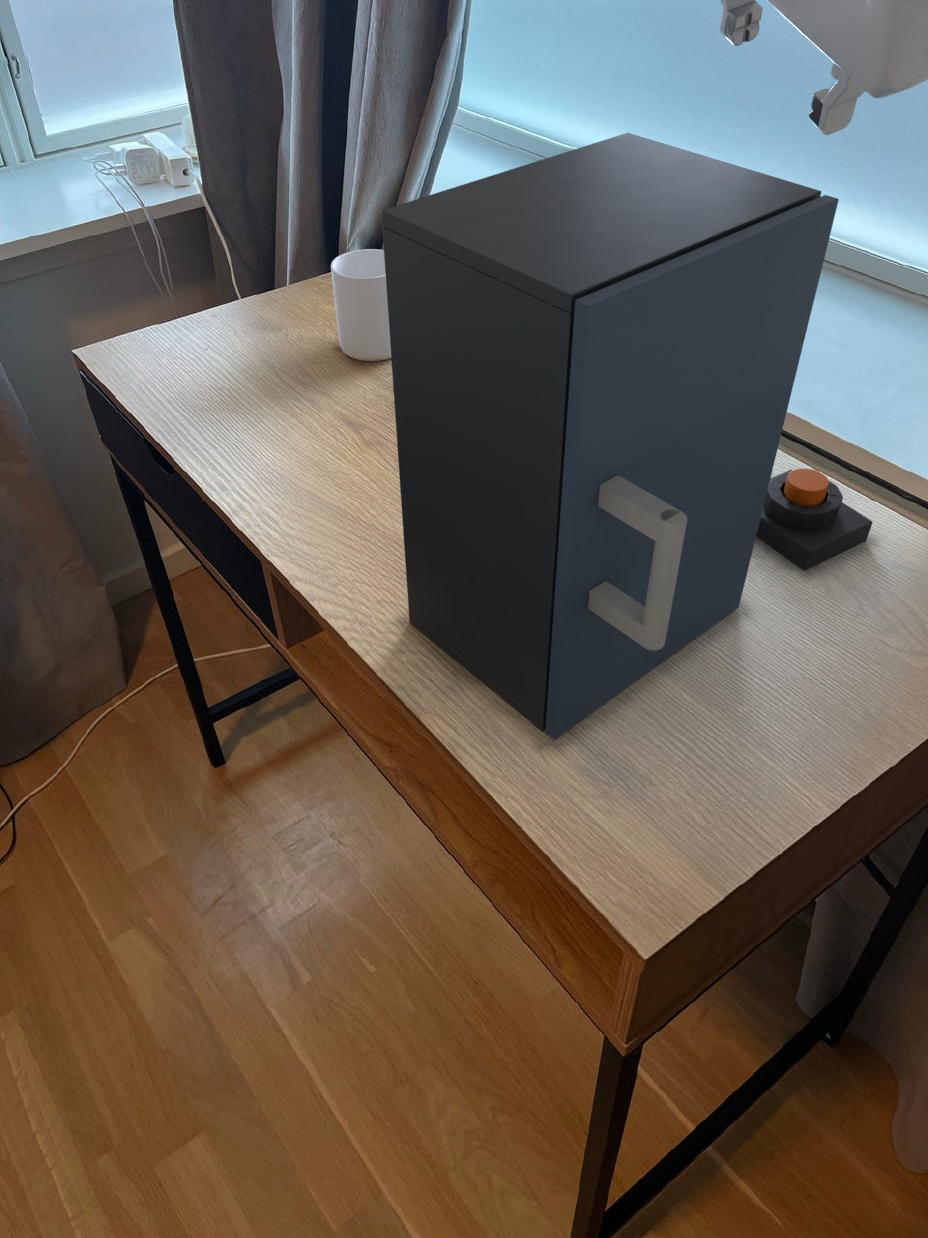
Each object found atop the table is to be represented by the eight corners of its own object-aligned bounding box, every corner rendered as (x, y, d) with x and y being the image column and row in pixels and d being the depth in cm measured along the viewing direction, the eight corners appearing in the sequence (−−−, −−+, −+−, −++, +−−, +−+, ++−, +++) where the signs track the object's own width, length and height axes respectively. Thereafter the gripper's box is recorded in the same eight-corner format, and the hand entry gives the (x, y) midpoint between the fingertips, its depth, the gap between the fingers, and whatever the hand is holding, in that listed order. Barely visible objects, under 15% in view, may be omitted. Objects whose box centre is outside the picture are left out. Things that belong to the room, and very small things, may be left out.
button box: (866, 540, 88) (878, 505, 86) (804, 571, 85) (815, 535, 83) (786, 487, 95) (795, 452, 92) (725, 514, 92) (733, 479, 89)
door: (796, 643, 79) (927, 225, 56) (612, 788, 68) (679, 346, 45) (729, 601, 82) (825, 194, 59) (544, 732, 72) (574, 299, 49)
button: (832, 498, 87) (837, 482, 86) (804, 511, 86) (808, 495, 85) (803, 479, 89) (807, 463, 88) (774, 491, 88) (778, 476, 87)
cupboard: (726, 601, 83) (822, 190, 59) (542, 732, 72) (571, 295, 49) (590, 517, 92) (627, 131, 68) (409, 622, 81) (380, 209, 58)
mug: (313, 331, 120) (303, 248, 113) (371, 313, 124) (365, 233, 117) (360, 369, 113) (352, 284, 106) (420, 350, 116) (416, 266, 109)
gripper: (1053, -139, 39) (942, 163, 51) (775, -315, 48) (738, -25, 60) (916, -87, 38) (837, 206, 50) (663, -275, 48) (648, 10, 60)
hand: (781, 79), depth 55 cm, fingers open, 8 cm apart
